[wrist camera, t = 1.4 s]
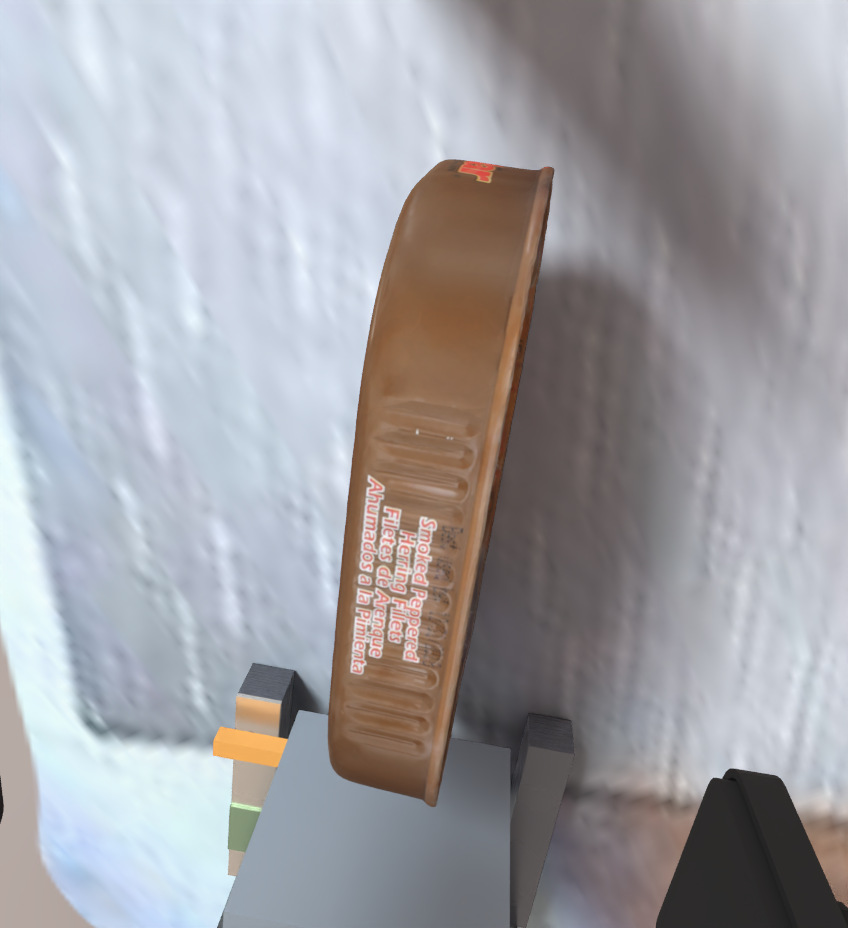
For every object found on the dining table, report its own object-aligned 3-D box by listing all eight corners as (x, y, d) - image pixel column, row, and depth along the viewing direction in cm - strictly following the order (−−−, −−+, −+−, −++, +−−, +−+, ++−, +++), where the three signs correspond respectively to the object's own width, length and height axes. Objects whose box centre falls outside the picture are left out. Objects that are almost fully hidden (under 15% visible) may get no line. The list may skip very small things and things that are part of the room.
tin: (466, 661, 25) (445, 899, 17) (370, 645, 25) (306, 873, 17) (560, 162, 19) (592, 182, 11) (432, 144, 19) (376, 150, 11)
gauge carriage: (510, 748, 24) (509, 967, 18) (503, 777, 25) (500, 1000, 18) (231, 697, 25) (132, 894, 18) (230, 726, 25) (133, 927, 19)
